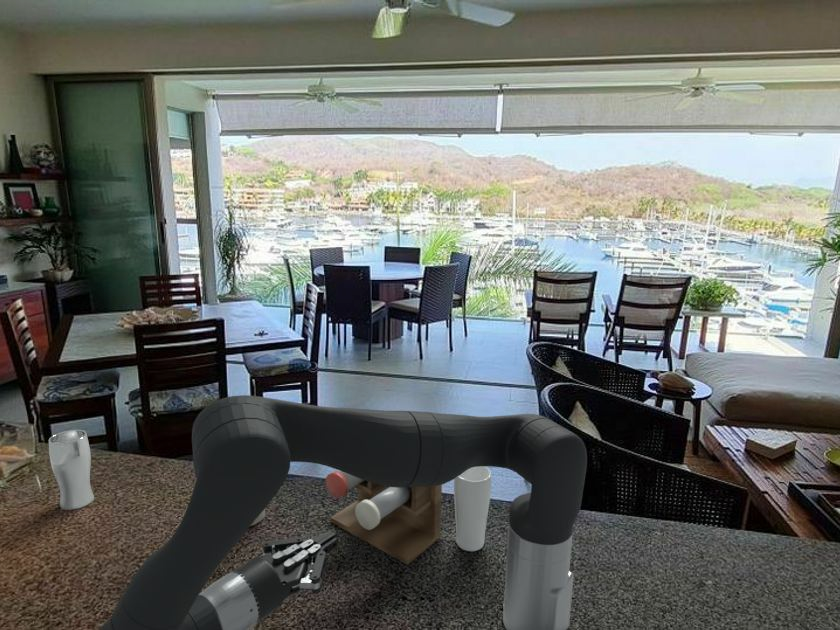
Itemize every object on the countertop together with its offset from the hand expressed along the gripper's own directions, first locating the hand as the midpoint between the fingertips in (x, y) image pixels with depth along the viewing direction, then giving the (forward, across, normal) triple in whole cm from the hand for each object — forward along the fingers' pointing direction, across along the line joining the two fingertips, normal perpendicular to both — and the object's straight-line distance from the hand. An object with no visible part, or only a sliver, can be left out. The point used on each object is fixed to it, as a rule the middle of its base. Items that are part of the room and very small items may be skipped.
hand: (334, 536), depth 84 cm
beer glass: (-16, +62, +11) cm, 65 cm away
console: (+18, +5, +11) cm, 22 cm away
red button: (+15, +11, +2) cm, 19 cm away
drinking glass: (+25, -10, +11) cm, 29 cm away
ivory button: (+12, 0, +2) cm, 12 cm away
